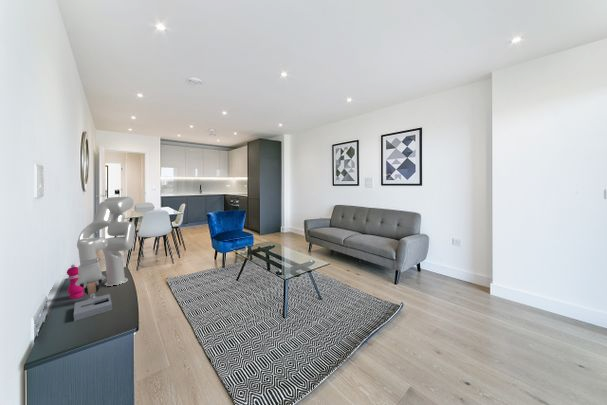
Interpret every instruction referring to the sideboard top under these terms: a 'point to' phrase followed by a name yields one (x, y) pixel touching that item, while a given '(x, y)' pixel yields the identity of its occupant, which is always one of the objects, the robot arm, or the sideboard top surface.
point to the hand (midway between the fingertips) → (92, 292)
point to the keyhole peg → (91, 289)
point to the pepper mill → (74, 289)
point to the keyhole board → (92, 307)
